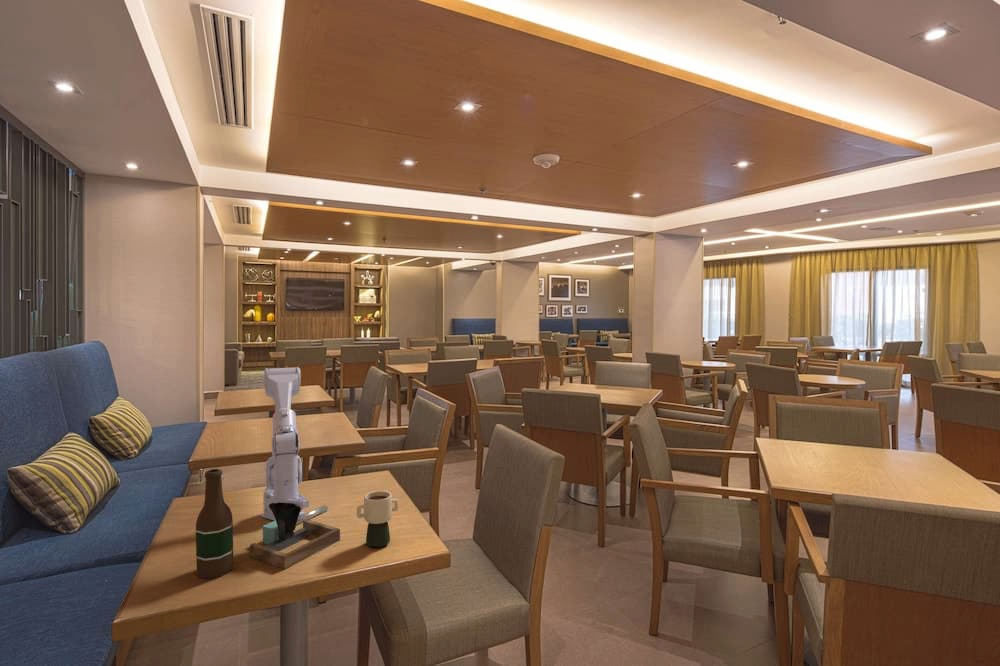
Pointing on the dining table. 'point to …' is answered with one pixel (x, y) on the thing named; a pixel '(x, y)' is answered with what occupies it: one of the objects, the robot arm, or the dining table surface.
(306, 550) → the wooden u-shaped frame
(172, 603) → the dining table surface
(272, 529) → the teal block
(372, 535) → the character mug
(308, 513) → the steel rod
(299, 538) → the dark grey bar
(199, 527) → the beer bottle
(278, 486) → the robot arm
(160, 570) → the dining table surface
